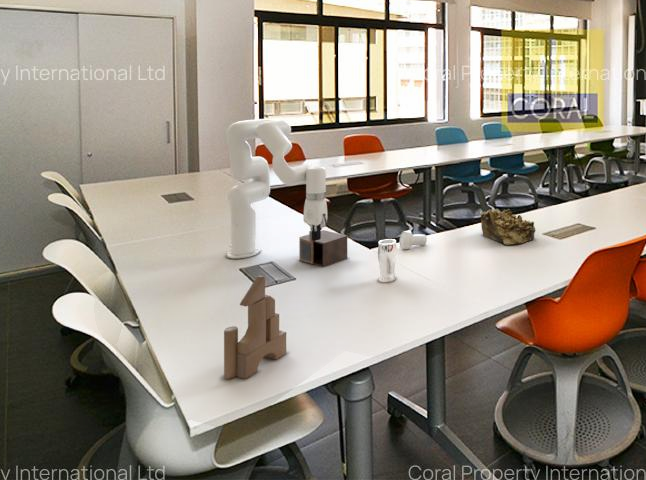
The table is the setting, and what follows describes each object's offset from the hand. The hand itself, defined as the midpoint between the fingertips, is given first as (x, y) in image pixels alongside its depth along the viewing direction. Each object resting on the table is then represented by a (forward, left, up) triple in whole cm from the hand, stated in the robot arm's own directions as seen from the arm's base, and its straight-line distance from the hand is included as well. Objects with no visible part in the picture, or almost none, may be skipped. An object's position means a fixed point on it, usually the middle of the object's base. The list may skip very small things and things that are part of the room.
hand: (316, 239), depth 223 cm
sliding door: (-6, 0, -10) cm, 12 cm away
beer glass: (+37, +5, -11) cm, 39 cm away
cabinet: (-4, +7, -11) cm, 14 cm away
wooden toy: (+52, -57, -11) cm, 78 cm away
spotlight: (+18, +38, -11) cm, 43 cm away
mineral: (+47, +74, -11) cm, 88 cm away
